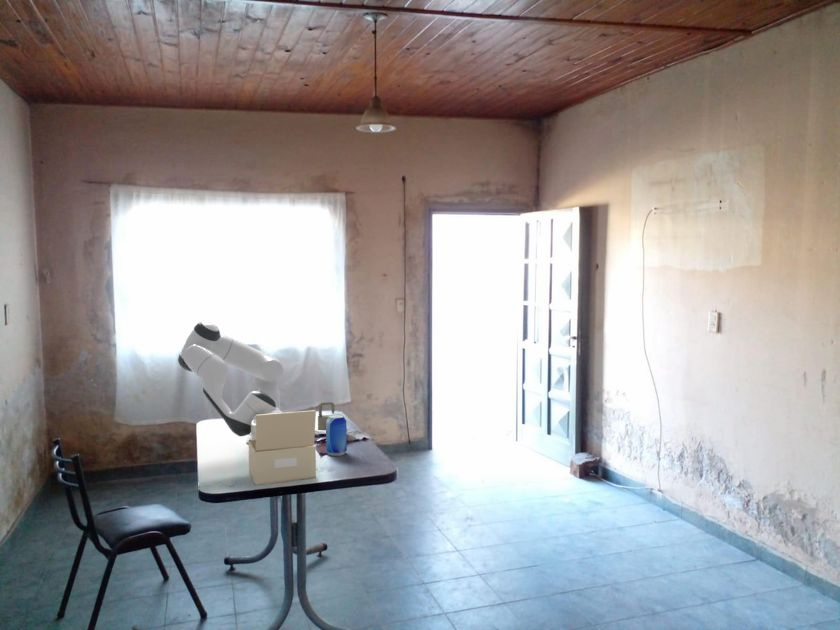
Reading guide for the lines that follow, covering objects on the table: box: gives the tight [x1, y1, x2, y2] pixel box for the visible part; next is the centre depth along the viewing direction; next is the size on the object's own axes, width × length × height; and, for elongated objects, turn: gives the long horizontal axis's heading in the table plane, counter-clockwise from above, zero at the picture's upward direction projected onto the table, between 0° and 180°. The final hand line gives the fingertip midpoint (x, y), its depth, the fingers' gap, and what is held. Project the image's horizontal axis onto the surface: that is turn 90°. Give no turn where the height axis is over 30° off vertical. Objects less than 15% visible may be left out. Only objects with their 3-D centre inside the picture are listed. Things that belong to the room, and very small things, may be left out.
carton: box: [248, 439, 317, 486], centre depth 250 cm, size 18×22×12 cm
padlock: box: [317, 401, 336, 431], centre depth 312 cm, size 4×8×15 cm, turn 103°
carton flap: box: [256, 409, 317, 451], centre depth 239 cm, size 14×21×1 cm
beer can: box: [325, 413, 348, 457], centre depth 278 cm, size 8×8×16 cm
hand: (281, 431), depth 239 cm, fingers closed, pressing on carton flap
